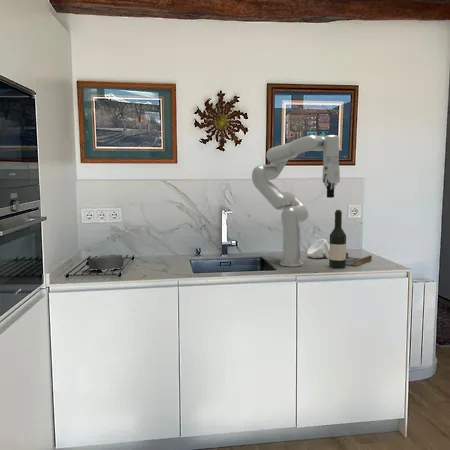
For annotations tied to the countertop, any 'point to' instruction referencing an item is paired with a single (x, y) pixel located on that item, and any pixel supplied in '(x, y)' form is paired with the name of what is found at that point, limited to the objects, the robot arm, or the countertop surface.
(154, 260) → the countertop surface
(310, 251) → the skull bowl
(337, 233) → the wine bottle
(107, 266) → the grey rounded piece
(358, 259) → the cradle
